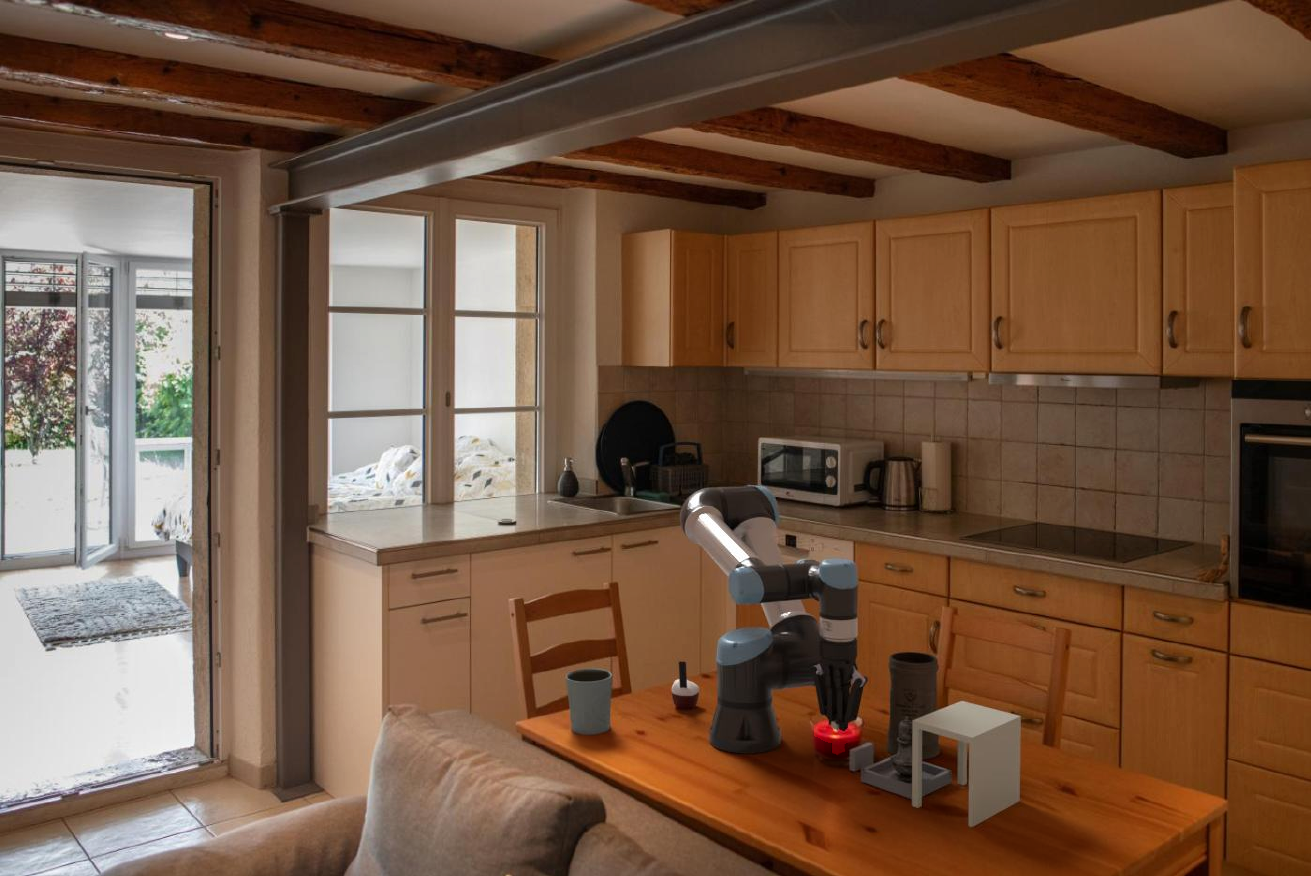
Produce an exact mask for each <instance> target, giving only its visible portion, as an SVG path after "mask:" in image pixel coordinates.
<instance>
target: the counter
mask: <svg viewBox="0 0 1311 876" xmlns="http://www.w3.org/2000/svg"><path fill="white" fill-rule="evenodd" d="M1021 718H1022V717H1021V715H1017V714H1013V713H1010V712H1006V711H1002V710H998V709H995V708H991V707H987V706H985V705H980V704H976V703H971V702H968V701H964V700H960V701H958V702H956V703H955V702H954V703H953V704H950V705H948V706H946V707H943V708H940V709H937V711H935V712H932V713H930V714H927V715H925V716H922V717H920V718H917V719H915V720H913V735H912V799H911V806H912V807H914V808H918V809H919V808H920V807H922V801H923V800H922V799H923V797H922V760H923V759H922V730H925V731H928V732H931V733H935V734H938V735H939V736H942V737H946V738H948V739H949V738H950V739H953V740H955V741H957V784H958V785H961V786H965V785H967V778H968V827H969V828H974V827H975V826H976V825H977V826H978V824H980V823H982V822H984V821H986V820H987V819H989V818H992V817H993V816H995V815H996V814H999V813H1000V812H1002V811H1004V810H1006V809H1008V808H1009V807H1011V806H1013V805H1015V804H1017V803H1019V802H1020V800H1021V799H1020V796H1021V795H1020V793H1021V792H1020V791H1021V789H1020V788H1021V785H1020V784H1021V731H1022V730H1021V729H1022V728H1021V726H1022V725H1021V724H1022V723H1021V722H1022V721H1021V720H1022V719H1021ZM968 745H969V746H968ZM968 748H969V749H968ZM968 751H969V752H968ZM968 754H969V755H968ZM968 757H969V758H968ZM967 760H968V761H967ZM967 767H968V768H967ZM967 769H968V770H967ZM967 772H968V773H967Z"/></svg>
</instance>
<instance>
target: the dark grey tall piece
mask: <svg viewBox="0 0 1311 876" xmlns="http://www.w3.org/2000/svg"><path fill="white" fill-rule="evenodd" d="M905 719H906V720H903V721H901V722H900V724H899V737H898V738H897V741H899V750H898V753H897V754H896V755H893V754H892V757H891V756H890V757H891V761H892V764H893V767H894V769H895V770H896V771H897V772H896V773H894V774H893V775H892V778H893V779H896V780H899V781H902V782H905V783H912V735H913V722H911V721H909V720H908V717H907V716H906V717H905ZM922 761H923V762H924V759H922Z"/></svg>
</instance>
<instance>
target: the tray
mask: <svg viewBox="0 0 1311 876" xmlns="http://www.w3.org/2000/svg"><path fill="white" fill-rule="evenodd" d="M892 756H893V755H892ZM892 756H890V757H887V758H884V759H883V760H880V761H877V762H875V763H874V743H873V742H872V743H871V742H865V743H863V744H861V745H858V746H856V747H854V748H850V749H849V771H853V772H857V771H859V770H860V781H861V782H862V783H864V784H868V785H871V786H873V787H876V788H879V789H881V790H883V791H884V790H885V791H887V792H890V793H892V794H895V795H898V796H901V797H904V798H907V799H910V800H912V783H905V782H902V781H899V780H896V779H893V778H892V775H893V774H894V773H896V772H897V771H896V770H895V769H894V767H893V764H892V761H891V757H892ZM952 772H953V771H952V770H951V769H948V768H945V767H941V766H938V765H935V764H932V763H929V762H926V761H924V760H923V761H922V798H923V797H924V796H927V795H928V794H931V793H933V792H935V791H937V790H939V789H941V788H943V787H945V786H948V785H950V784H951V783H952V780H953V779H952V776H953V775H952V774H953V773H952Z"/></svg>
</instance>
